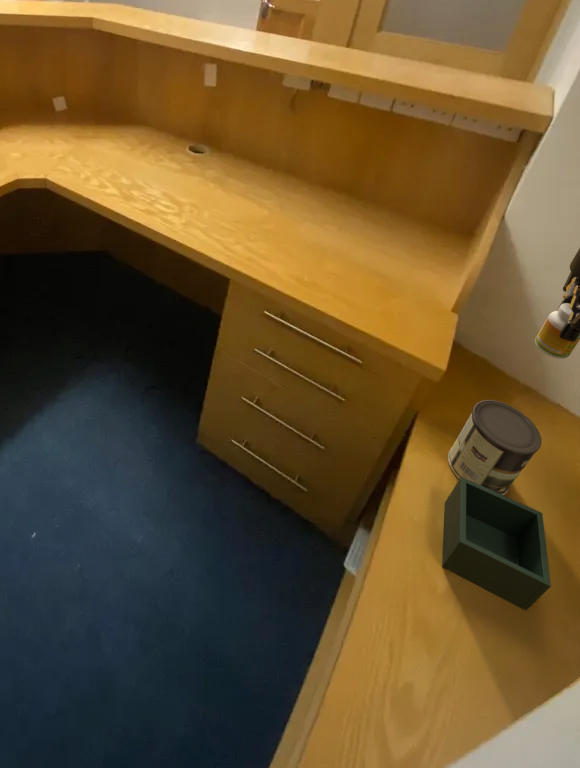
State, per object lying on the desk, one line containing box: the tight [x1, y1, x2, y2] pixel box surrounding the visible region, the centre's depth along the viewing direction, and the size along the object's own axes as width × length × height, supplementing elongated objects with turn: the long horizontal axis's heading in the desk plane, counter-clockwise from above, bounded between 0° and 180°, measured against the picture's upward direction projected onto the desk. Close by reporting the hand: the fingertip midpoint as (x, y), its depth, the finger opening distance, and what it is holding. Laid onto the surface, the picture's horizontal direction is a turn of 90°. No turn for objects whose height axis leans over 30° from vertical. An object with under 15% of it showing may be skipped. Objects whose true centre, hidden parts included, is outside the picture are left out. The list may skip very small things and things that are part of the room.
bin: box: [441, 477, 552, 611], centre depth 83 cm, size 12×12×9 cm
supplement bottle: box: [534, 303, 580, 360], centre depth 93 cm, size 5×5×10 cm
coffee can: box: [447, 399, 543, 496], centre depth 93 cm, size 10×10×14 cm
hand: (564, 327), depth 93 cm, fingers closed on supplement bottle, 5 cm apart
